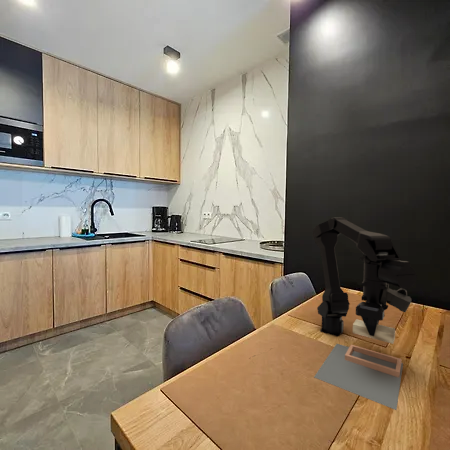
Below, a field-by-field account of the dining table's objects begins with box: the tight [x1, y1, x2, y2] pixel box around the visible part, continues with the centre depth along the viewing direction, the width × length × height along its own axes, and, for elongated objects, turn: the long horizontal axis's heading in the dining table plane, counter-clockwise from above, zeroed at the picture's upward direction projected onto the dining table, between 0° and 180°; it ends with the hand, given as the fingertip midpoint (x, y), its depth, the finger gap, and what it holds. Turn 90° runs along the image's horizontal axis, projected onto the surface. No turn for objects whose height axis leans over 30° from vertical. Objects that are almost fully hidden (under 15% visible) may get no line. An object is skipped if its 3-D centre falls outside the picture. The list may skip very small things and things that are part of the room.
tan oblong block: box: [352, 318, 396, 345], centre depth 73 cm, size 10×5×3 cm, turn 52°
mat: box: [313, 343, 404, 411], centre depth 70 cm, size 18×22×1 cm
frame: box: [345, 343, 402, 377], centre depth 74 cm, size 13×8×1 cm, turn 52°
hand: (373, 332), depth 73 cm, fingers closed on tan oblong block, 5 cm apart
